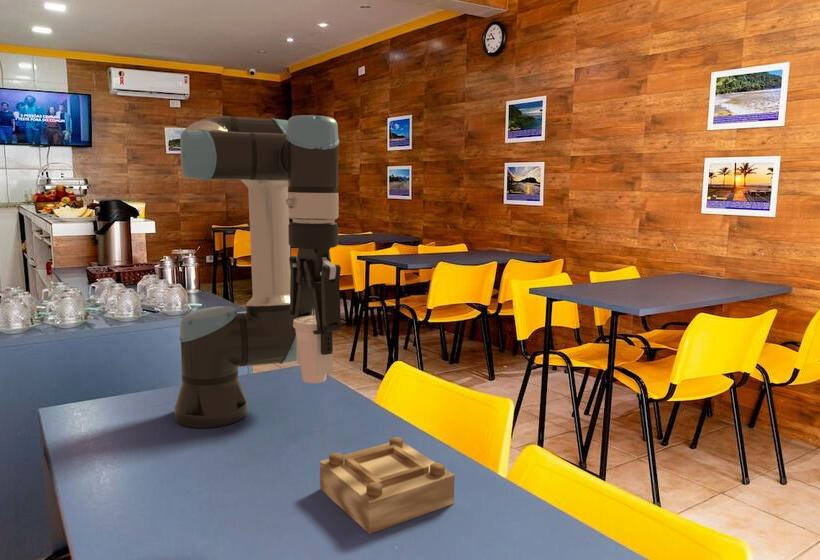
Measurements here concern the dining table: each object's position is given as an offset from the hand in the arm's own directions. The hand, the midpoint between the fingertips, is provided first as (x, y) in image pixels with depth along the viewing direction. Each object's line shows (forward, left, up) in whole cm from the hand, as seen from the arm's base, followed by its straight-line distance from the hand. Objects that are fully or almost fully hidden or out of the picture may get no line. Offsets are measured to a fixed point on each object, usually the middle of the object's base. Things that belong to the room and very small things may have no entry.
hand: (314, 367), depth 98 cm
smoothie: (0, 0, -2) cm, 2 cm away
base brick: (+5, +10, -22) cm, 25 cm away
